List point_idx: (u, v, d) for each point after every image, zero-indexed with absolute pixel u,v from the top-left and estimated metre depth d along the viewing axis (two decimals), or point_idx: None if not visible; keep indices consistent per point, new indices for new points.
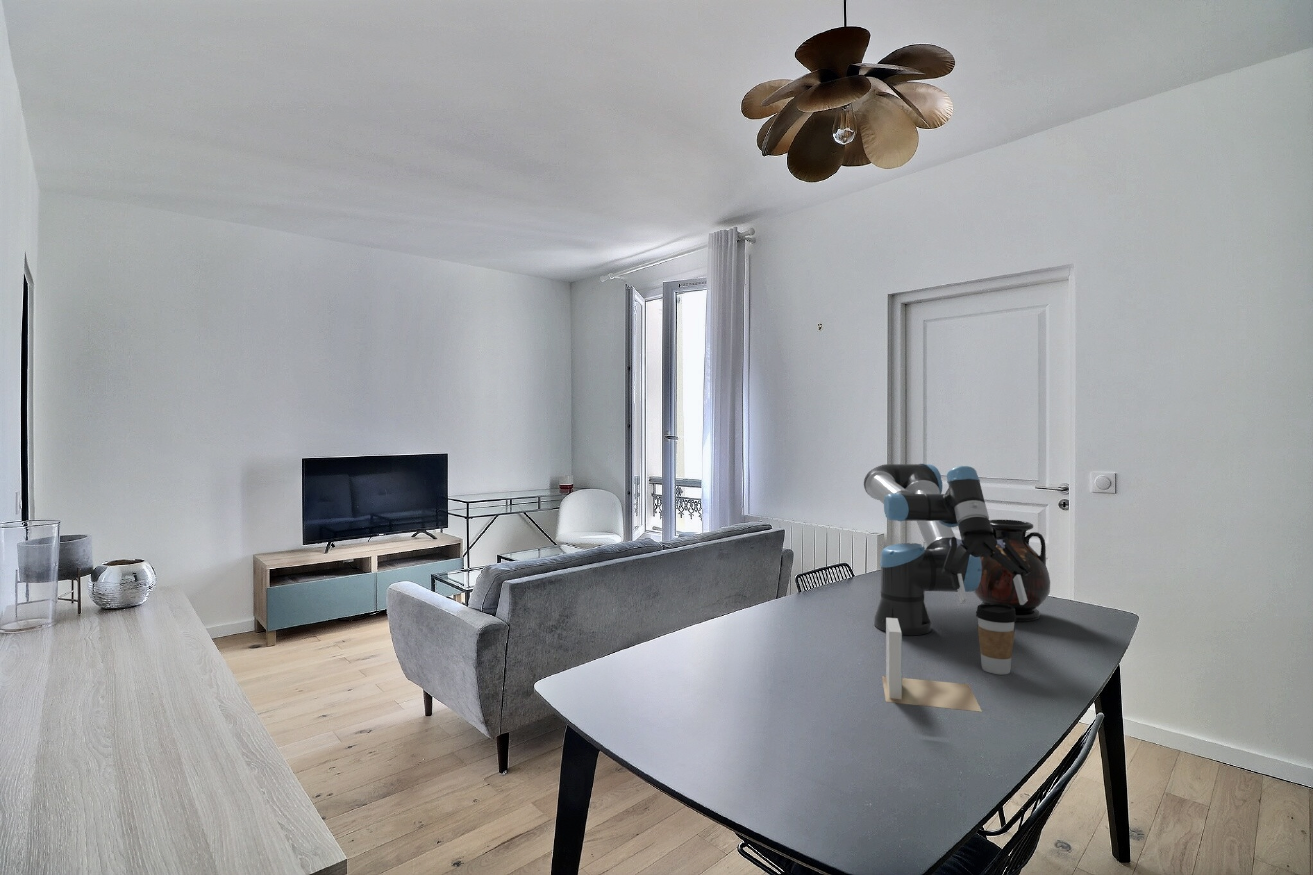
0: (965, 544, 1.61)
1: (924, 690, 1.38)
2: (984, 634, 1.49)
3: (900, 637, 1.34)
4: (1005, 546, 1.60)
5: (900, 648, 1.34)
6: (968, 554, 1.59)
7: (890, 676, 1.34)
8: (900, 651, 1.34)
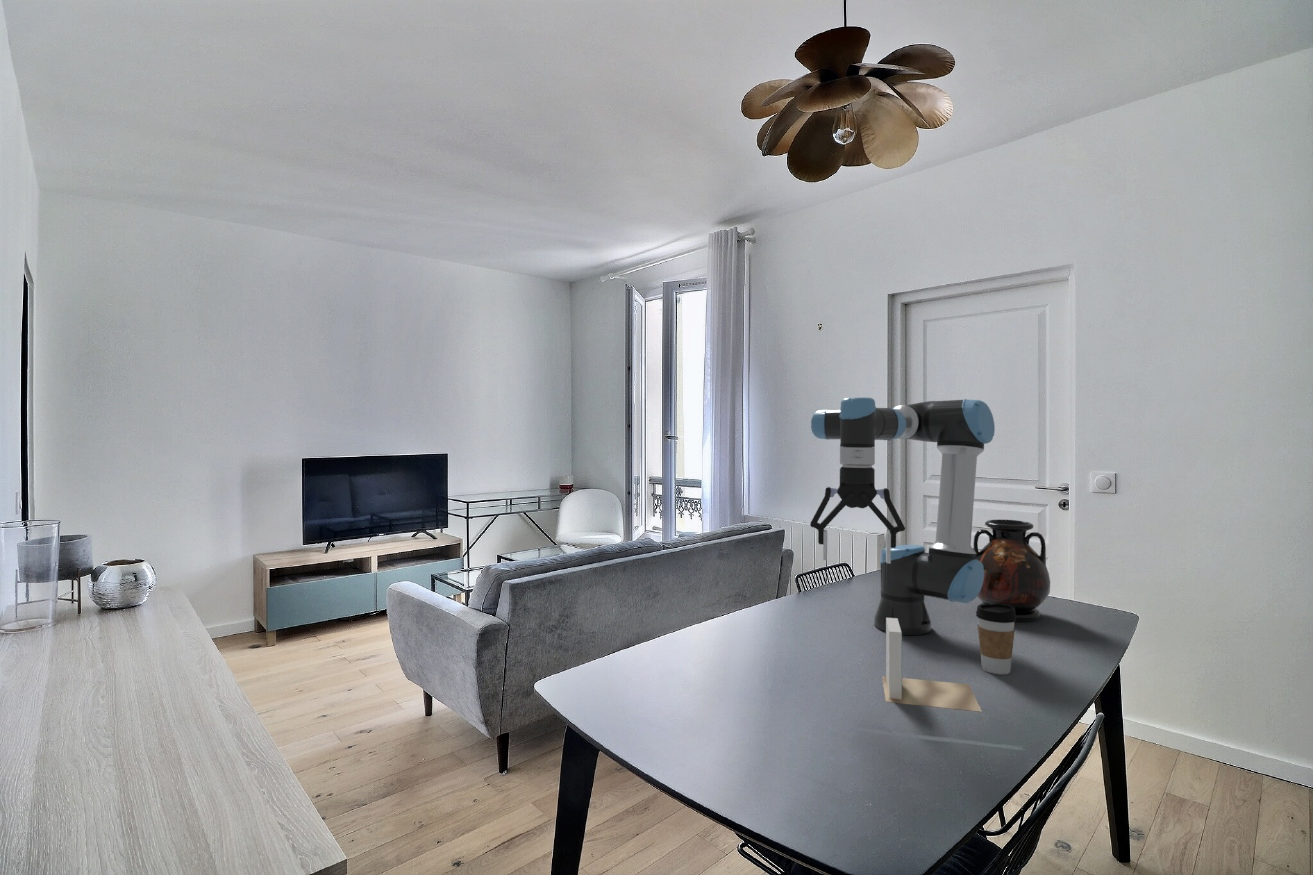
0: (840, 496, 1.45)
1: (924, 690, 1.38)
2: (984, 634, 1.49)
3: (900, 637, 1.34)
4: (884, 498, 1.43)
5: (900, 648, 1.34)
6: (840, 509, 1.45)
7: (890, 676, 1.34)
8: (900, 651, 1.34)
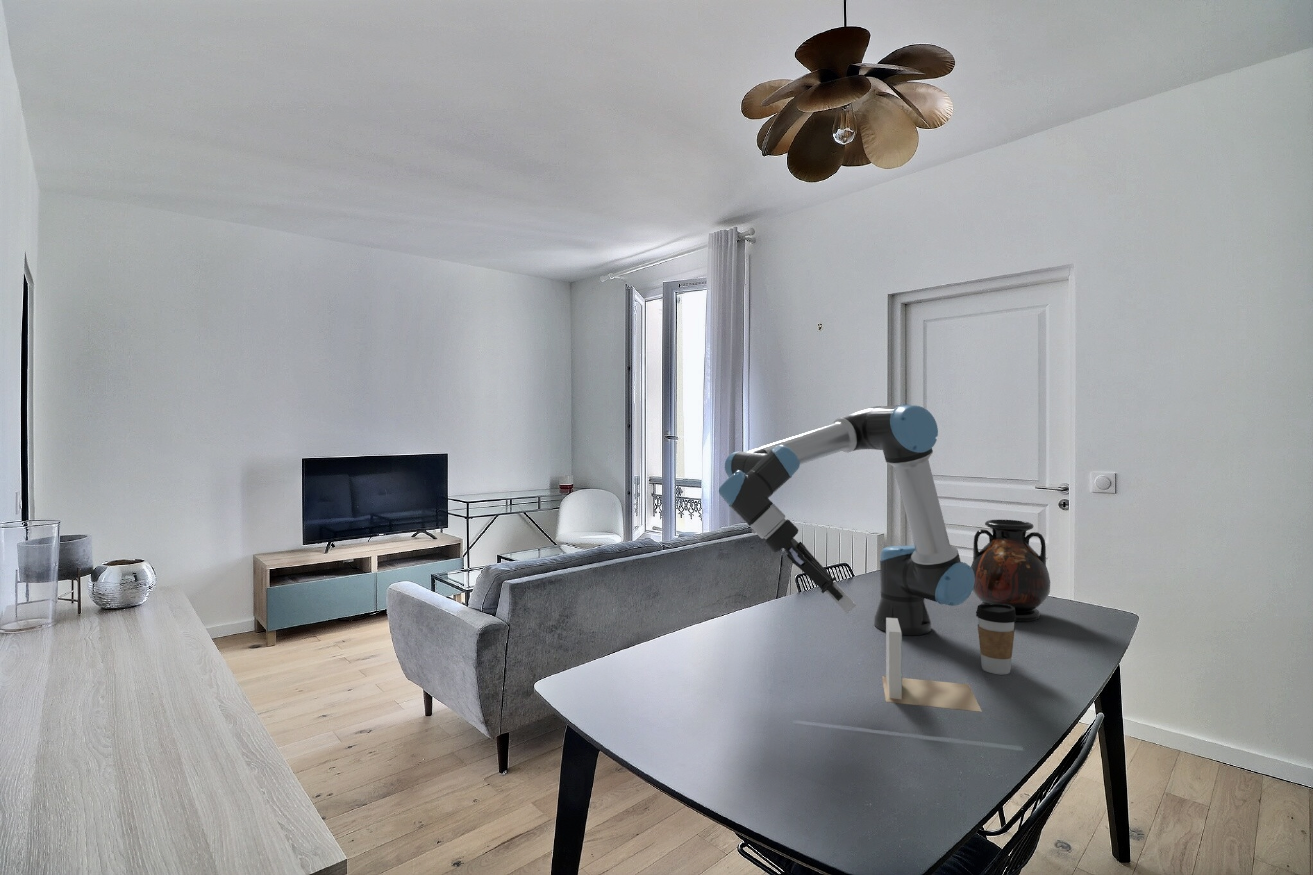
0: None
1: (924, 690, 1.38)
2: (984, 634, 1.49)
3: (900, 637, 1.34)
4: None
5: (900, 648, 1.34)
6: None
7: (890, 676, 1.34)
8: (900, 651, 1.34)
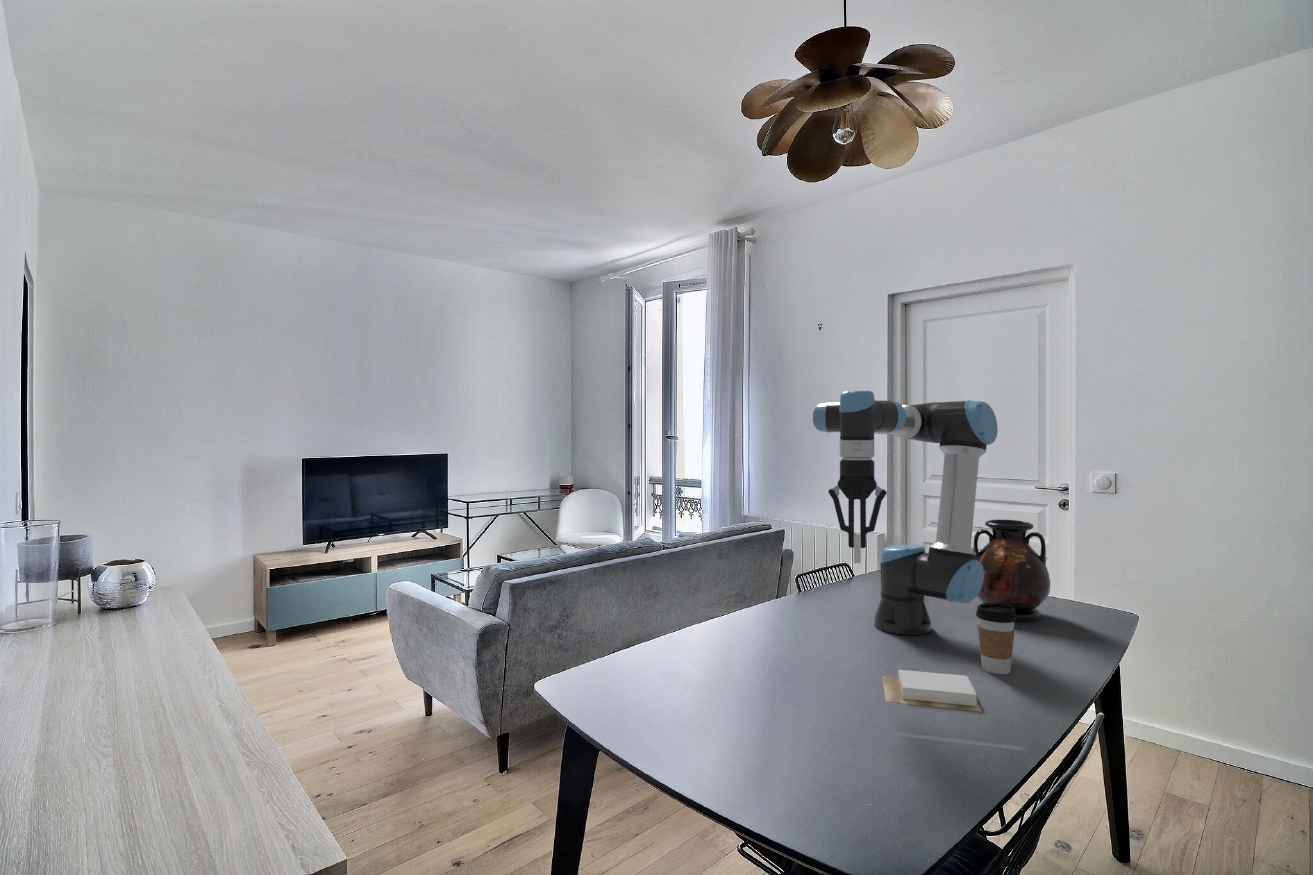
0: (843, 488, 1.47)
1: None
2: (984, 634, 1.49)
3: (970, 704, 1.30)
4: (877, 497, 1.45)
5: (958, 703, 1.31)
6: (852, 504, 1.46)
7: (926, 690, 1.33)
8: (954, 703, 1.31)
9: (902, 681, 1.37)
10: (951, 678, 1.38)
